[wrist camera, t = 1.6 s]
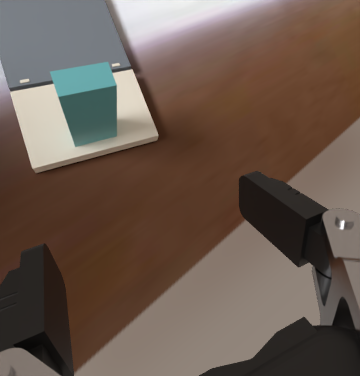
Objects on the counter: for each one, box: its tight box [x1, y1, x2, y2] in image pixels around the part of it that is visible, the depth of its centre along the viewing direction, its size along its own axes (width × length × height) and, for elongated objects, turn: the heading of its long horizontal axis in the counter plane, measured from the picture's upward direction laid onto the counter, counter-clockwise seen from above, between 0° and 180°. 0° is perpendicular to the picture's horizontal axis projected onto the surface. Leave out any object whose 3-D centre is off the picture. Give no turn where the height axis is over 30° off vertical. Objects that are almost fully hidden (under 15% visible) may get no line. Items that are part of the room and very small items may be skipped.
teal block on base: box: [10, 62, 159, 173], centre depth 24 cm, size 12×8×9 cm, turn 112°
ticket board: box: [0, 0, 131, 92], centre depth 30 cm, size 12×14×1 cm
